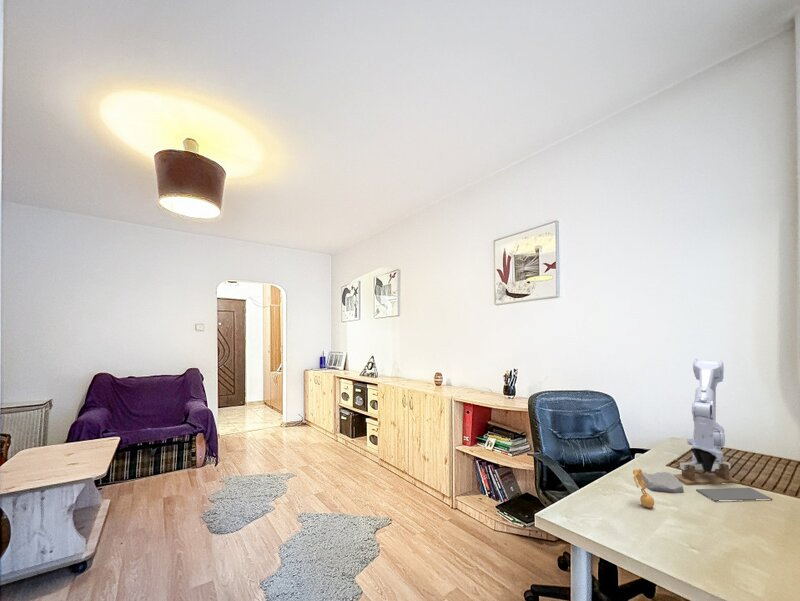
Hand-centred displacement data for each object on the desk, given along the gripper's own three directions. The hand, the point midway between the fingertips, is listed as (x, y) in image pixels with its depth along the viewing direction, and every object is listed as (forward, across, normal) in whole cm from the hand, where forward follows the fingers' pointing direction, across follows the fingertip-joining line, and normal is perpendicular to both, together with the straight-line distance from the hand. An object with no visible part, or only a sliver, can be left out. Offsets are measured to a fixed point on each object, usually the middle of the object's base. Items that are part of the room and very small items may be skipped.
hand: (705, 469), depth 148 cm
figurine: (+4, +17, -35) cm, 39 cm away
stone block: (+4, +4, -20) cm, 21 cm away
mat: (+4, +12, 0) cm, 13 cm away
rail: (-1, 0, 0) cm, 1 cm away
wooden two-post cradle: (+4, 0, 0) cm, 4 cm away
